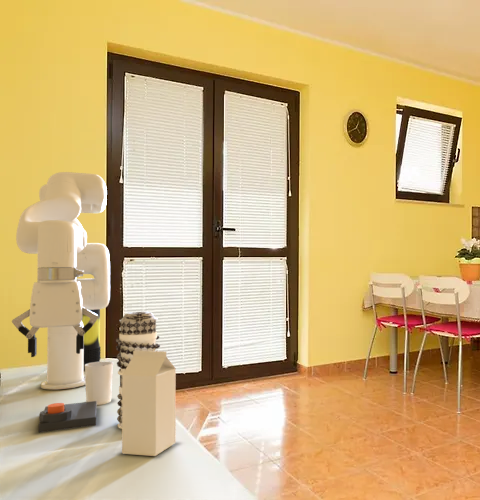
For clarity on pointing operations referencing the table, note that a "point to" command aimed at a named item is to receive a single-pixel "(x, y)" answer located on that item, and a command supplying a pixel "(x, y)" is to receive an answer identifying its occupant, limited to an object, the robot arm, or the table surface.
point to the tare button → (55, 408)
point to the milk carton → (148, 404)
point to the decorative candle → (134, 343)
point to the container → (92, 340)
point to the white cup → (98, 382)
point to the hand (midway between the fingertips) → (56, 354)
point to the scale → (69, 417)
